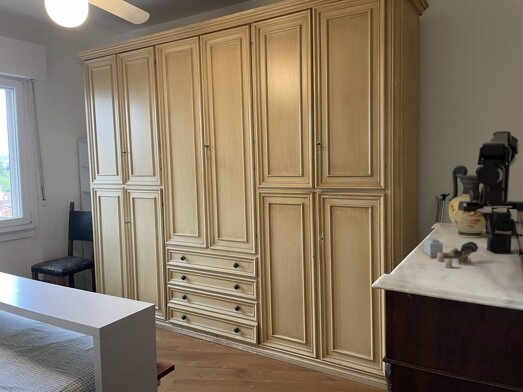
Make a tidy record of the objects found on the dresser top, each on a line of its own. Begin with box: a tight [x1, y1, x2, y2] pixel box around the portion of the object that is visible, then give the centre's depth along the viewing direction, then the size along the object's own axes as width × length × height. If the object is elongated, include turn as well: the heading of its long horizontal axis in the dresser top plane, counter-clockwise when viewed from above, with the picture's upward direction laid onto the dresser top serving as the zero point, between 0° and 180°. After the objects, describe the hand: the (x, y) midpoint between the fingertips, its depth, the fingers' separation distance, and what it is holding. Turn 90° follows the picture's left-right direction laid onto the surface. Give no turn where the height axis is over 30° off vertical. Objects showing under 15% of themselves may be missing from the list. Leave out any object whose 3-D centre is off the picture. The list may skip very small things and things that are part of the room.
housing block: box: [424, 237, 444, 257], centre depth 142 cm, size 4×7×5 cm, turn 173°
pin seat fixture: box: [430, 252, 459, 269], centre depth 134 cm, size 10×19×2 cm, turn 173°
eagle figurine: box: [449, 241, 479, 265], centre depth 132 cm, size 8×7×9 cm
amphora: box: [448, 164, 486, 239], centre depth 172 cm, size 18×17×30 cm
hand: (491, 233), depth 127 cm, fingers closed
